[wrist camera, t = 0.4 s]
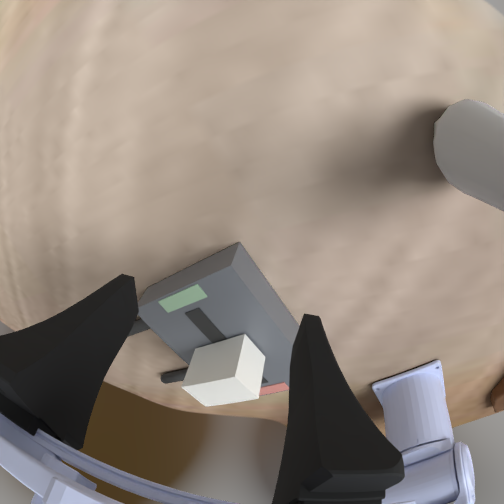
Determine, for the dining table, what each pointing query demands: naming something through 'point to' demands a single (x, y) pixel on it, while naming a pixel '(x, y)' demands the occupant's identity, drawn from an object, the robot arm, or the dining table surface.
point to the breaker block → (223, 312)
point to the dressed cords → (165, 378)
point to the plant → (498, 396)
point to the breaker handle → (225, 372)
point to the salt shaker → (472, 150)
